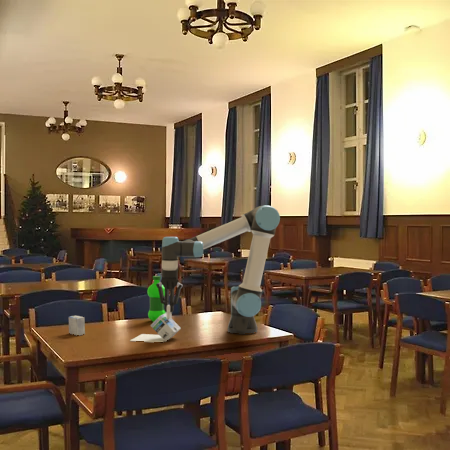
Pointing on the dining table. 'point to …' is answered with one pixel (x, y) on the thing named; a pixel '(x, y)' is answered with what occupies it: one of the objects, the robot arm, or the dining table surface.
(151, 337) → the mat
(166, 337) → the light bulb box
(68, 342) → the dining table surface
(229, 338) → the dining table surface
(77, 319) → the medicine box
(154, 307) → the plastic bottle
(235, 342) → the dining table surface
